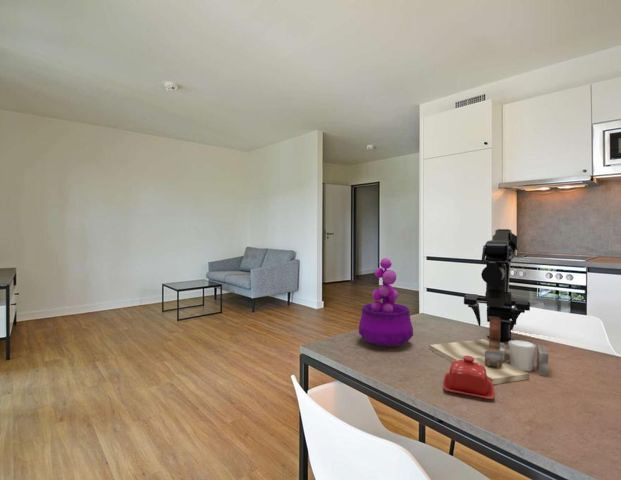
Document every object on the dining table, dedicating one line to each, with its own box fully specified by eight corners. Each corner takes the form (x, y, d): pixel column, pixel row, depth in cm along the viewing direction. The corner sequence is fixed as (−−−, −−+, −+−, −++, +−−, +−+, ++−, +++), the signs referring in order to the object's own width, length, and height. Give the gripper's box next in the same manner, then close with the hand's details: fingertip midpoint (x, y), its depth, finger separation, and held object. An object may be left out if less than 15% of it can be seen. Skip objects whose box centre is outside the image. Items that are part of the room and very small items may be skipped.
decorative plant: (424, 346, 118) (425, 258, 117) (383, 356, 109) (383, 261, 108) (386, 331, 135) (387, 255, 134) (348, 339, 126) (348, 257, 125)
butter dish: (492, 384, 90) (492, 352, 90) (495, 405, 80) (495, 368, 79) (445, 376, 95) (445, 345, 95) (442, 395, 85) (442, 360, 84)
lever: (504, 368, 95) (504, 336, 94) (484, 365, 97) (484, 333, 97) (504, 344, 114) (504, 317, 113) (487, 342, 116) (487, 315, 116)
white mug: (541, 372, 97) (541, 347, 97) (516, 371, 97) (516, 347, 97) (526, 362, 104) (526, 339, 104) (503, 362, 104) (503, 339, 104)
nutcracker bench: (488, 342, 122) (489, 325, 122) (563, 374, 96) (564, 352, 96) (429, 349, 115) (429, 331, 115) (492, 384, 89) (492, 361, 89)
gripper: (462, 281, 110) (461, 330, 111) (531, 286, 101) (530, 339, 102) (465, 277, 120) (465, 321, 121) (529, 281, 111) (528, 329, 111)
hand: (495, 327), depth 113 cm, fingers open, 9 cm apart
